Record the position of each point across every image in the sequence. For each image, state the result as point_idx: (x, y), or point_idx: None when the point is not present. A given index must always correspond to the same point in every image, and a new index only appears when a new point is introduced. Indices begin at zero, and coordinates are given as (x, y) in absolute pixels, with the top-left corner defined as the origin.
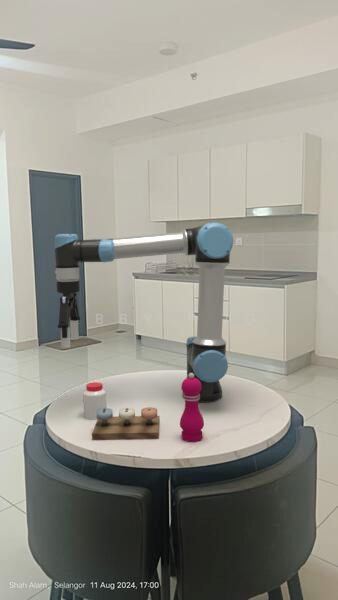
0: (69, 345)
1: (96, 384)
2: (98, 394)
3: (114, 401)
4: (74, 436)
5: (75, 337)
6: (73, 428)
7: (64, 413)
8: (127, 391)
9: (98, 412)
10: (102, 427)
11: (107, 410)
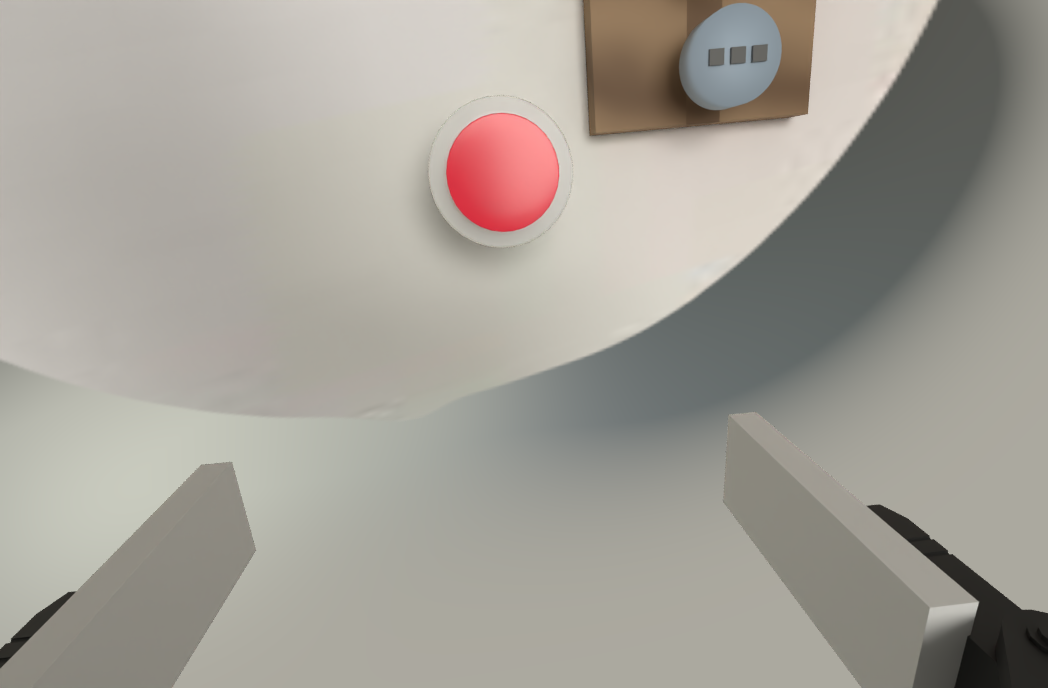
0: (767, 425)
1: (498, 158)
2: (560, 132)
3: (260, 116)
4: (743, 209)
5: (229, 509)
6: (655, 239)
7: (474, 336)
8: (46, 65)
9: (760, 86)
10: None
11: (732, 37)
